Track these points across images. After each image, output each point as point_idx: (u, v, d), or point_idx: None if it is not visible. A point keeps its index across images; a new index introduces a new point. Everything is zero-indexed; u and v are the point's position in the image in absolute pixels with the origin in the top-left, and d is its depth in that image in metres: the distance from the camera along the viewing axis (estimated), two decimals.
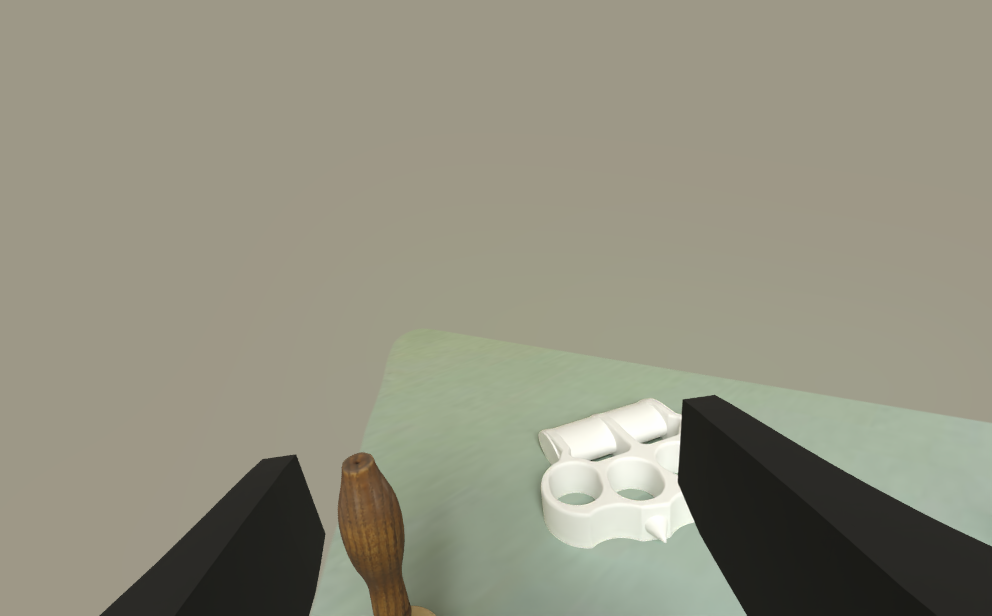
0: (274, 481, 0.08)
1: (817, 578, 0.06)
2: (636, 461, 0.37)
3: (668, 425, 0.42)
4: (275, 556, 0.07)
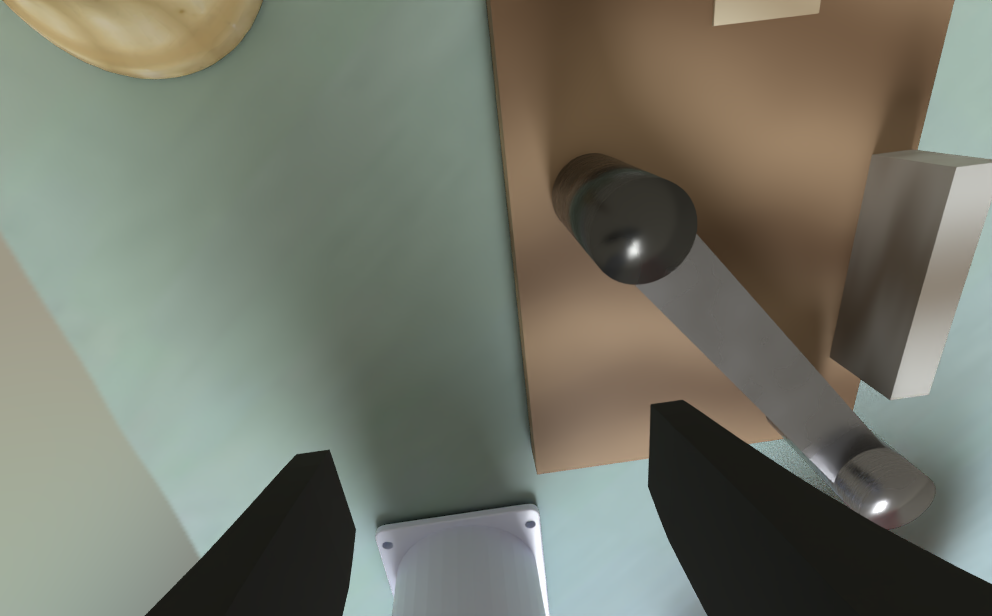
0: (312, 476, 0.08)
1: (769, 585, 0.06)
2: None
3: None
4: (314, 550, 0.07)
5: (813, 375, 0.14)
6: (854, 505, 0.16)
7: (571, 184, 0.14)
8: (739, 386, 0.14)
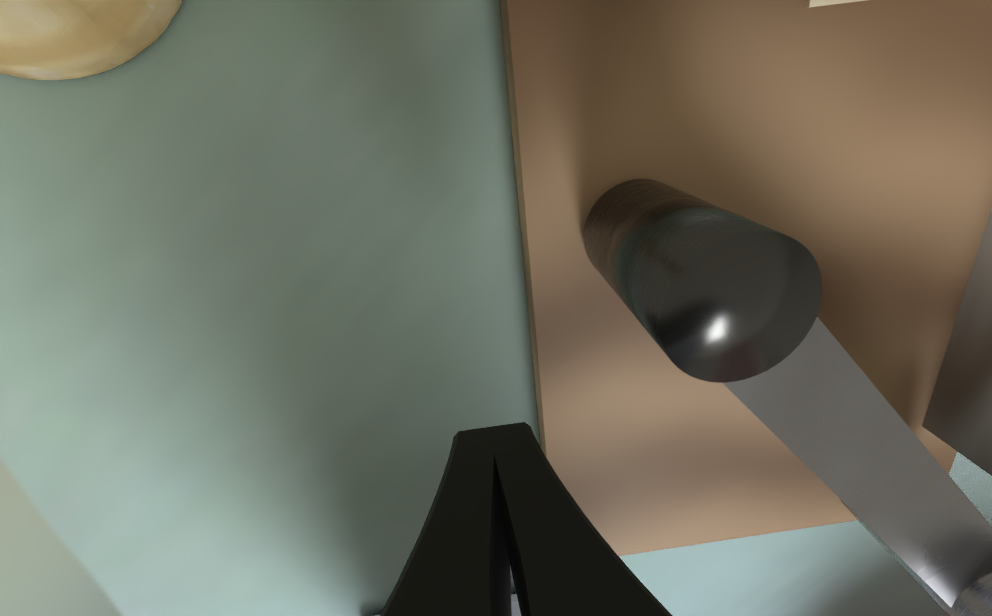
0: (493, 449, 0.08)
1: None
2: None
3: None
4: (500, 523, 0.07)
5: (944, 482, 0.11)
6: None
7: (616, 225, 0.10)
8: (844, 498, 0.11)
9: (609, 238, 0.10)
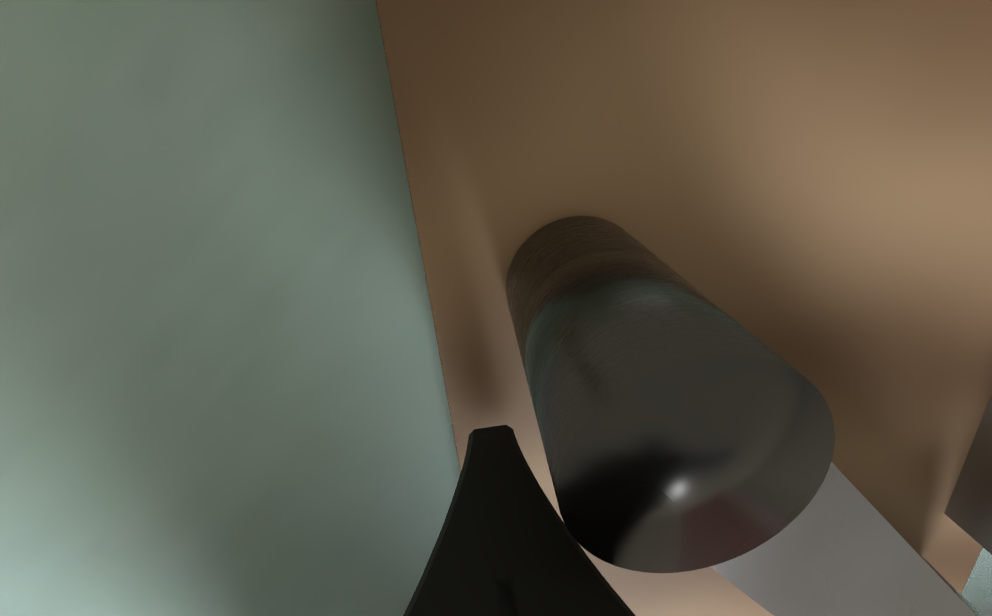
0: (509, 447, 0.08)
1: None
2: None
3: None
4: None
5: None
6: None
7: (532, 291, 0.07)
8: None
9: (523, 309, 0.07)
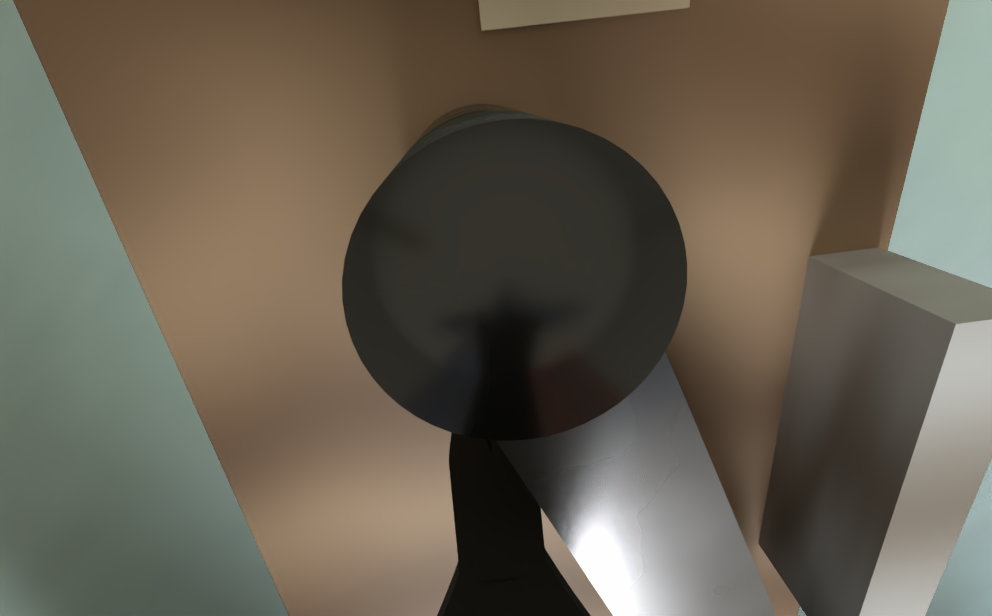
0: None
1: None
2: None
3: None
4: None
5: None
6: None
7: (423, 134, 0.06)
8: None
9: None
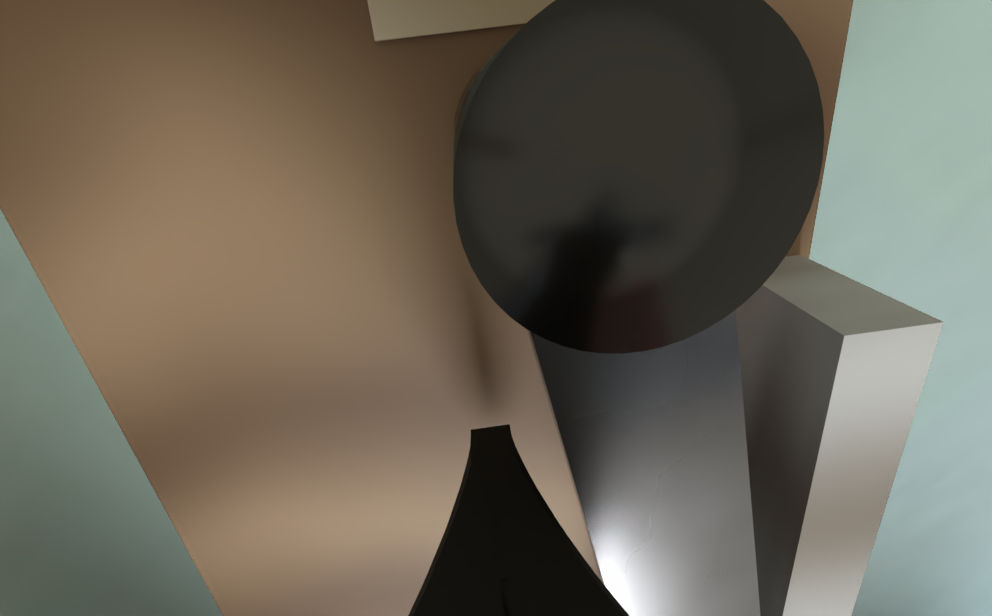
0: (513, 447, 0.08)
1: None
2: None
3: None
4: None
5: None
6: None
7: None
8: None
9: None
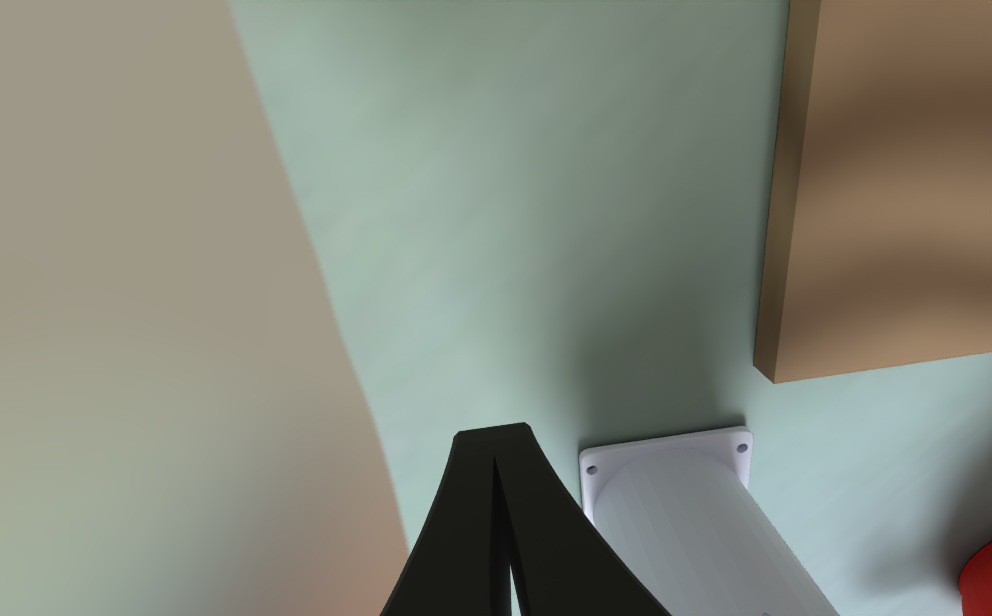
0: (492, 450, 0.08)
1: None
2: None
3: None
4: (500, 523, 0.07)
5: None
6: None
7: None
8: None
9: None
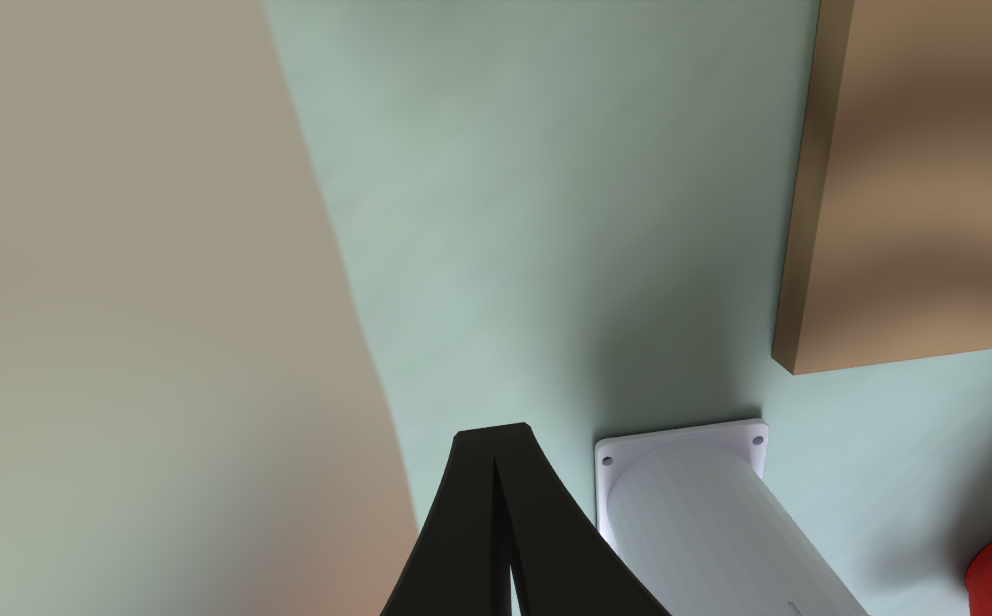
0: (493, 450, 0.08)
1: None
2: None
3: None
4: (500, 523, 0.07)
5: None
6: None
7: None
8: None
9: None
